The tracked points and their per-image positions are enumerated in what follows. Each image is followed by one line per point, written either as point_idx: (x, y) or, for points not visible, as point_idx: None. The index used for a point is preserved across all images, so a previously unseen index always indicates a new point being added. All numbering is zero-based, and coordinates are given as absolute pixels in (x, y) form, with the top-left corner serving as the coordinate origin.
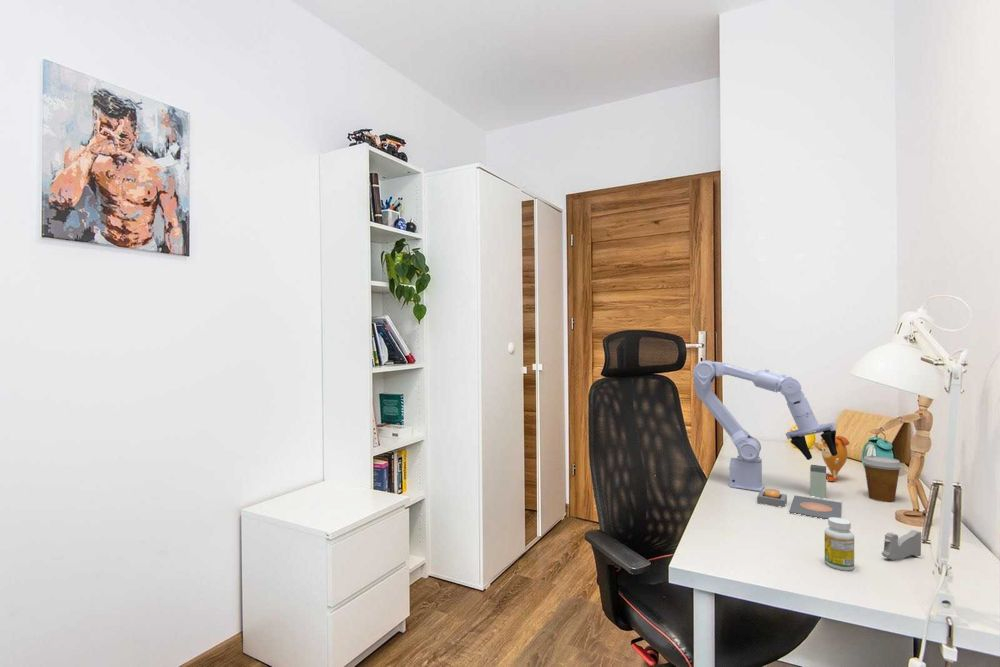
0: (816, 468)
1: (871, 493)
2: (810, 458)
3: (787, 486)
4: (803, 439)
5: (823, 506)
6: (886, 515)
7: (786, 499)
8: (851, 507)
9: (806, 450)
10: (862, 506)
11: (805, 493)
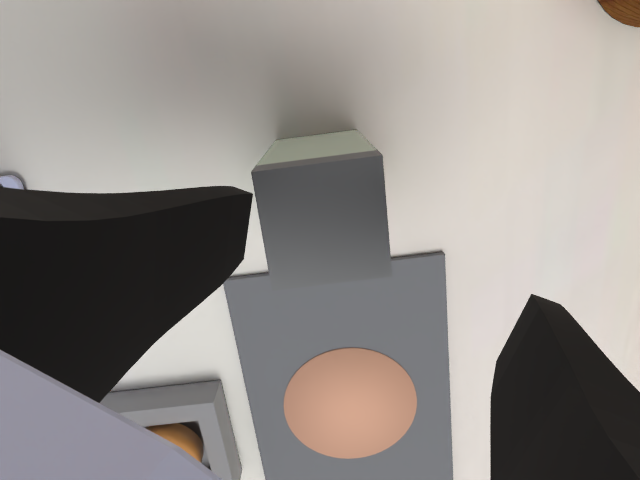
0: (320, 282)
1: (621, 4)
2: (244, 233)
3: (119, 69)
4: (36, 301)
5: (377, 382)
6: (627, 302)
7: (221, 403)
8: (487, 279)
9: (178, 269)
10: (536, 223)
11: (251, 167)
